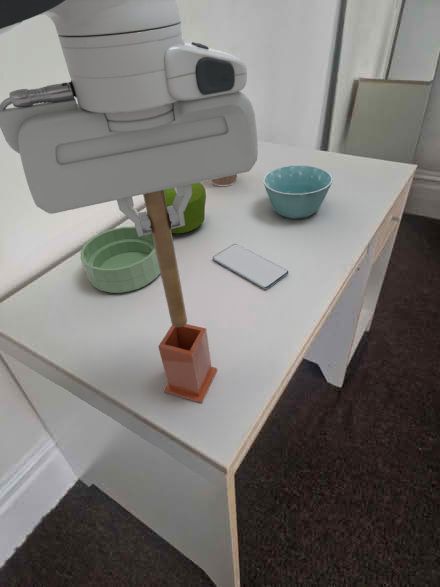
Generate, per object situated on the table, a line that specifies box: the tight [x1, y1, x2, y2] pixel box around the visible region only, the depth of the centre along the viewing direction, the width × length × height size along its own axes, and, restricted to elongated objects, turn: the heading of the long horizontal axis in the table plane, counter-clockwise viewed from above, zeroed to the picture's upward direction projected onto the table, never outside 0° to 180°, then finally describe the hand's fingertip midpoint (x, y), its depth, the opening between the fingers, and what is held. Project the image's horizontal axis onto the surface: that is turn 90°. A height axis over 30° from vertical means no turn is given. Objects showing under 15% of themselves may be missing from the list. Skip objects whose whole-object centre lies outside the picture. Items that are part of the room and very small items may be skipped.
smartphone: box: [212, 243, 289, 290], centre depth 74 cm, size 7×1×15 cm
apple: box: [164, 182, 207, 234], centre depth 85 cm, size 12×12×11 cm
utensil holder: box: [157, 323, 218, 404], centre depth 52 cm, size 6×6×10 cm
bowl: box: [262, 164, 333, 220], centre depth 88 cm, size 16×16×8 cm
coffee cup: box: [211, 174, 238, 187], centre depth 102 cm, size 10×10×12 cm
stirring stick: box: [142, 190, 188, 327], centre depth 41 cm, size 2×2×18 cm
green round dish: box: [79, 225, 161, 294], centre depth 75 cm, size 15×15×6 cm
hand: (160, 228), depth 38 cm, fingers closed on stirring stick, 2 cm apart
